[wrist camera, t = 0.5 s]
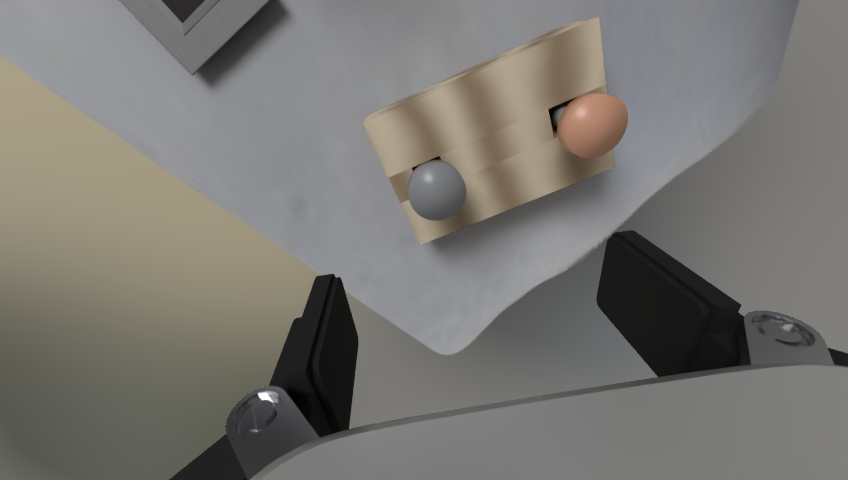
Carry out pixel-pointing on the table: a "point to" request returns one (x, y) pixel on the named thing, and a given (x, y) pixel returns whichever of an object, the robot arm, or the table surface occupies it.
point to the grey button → (436, 190)
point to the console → (495, 127)
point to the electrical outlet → (193, 25)
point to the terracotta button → (590, 124)
